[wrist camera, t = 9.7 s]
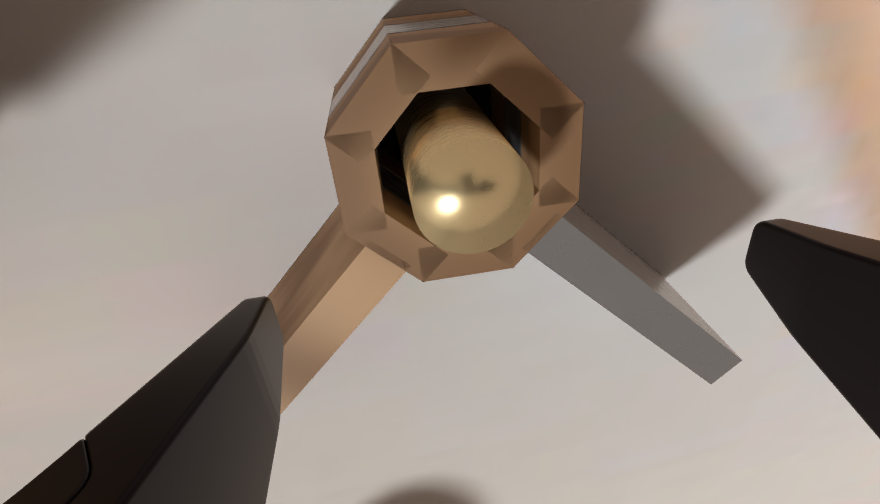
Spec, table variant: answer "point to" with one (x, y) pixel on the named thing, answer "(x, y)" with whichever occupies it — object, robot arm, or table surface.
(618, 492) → the table surface
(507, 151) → the brass pin
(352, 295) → the tan hinge leaf
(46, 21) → the table surface
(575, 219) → the slate leaf
